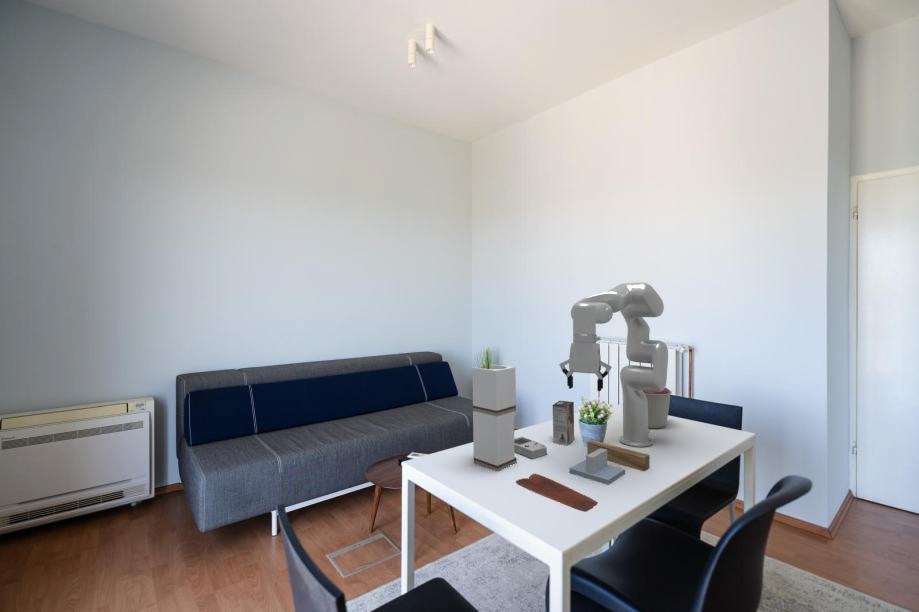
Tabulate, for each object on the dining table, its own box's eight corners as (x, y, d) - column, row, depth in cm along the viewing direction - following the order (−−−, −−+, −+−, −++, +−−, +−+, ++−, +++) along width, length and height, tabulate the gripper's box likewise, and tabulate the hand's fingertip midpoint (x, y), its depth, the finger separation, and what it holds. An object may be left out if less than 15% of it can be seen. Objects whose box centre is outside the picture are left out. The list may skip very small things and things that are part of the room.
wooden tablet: (513, 484, 139) (513, 479, 139) (534, 476, 145) (534, 471, 145) (582, 516, 118) (582, 510, 118) (603, 504, 124) (603, 499, 124)
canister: (654, 433, 187) (654, 385, 187) (621, 423, 203) (620, 379, 203) (680, 427, 196) (680, 381, 196) (646, 418, 212) (646, 375, 212)
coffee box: (559, 437, 185) (559, 400, 184) (574, 439, 181) (574, 401, 181) (552, 443, 177) (552, 404, 177) (568, 445, 173) (567, 406, 173)
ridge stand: (587, 462, 155) (586, 443, 155) (624, 473, 145) (624, 453, 145) (569, 472, 146) (569, 452, 146) (608, 484, 136) (608, 462, 136)
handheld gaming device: (532, 460, 159) (532, 450, 159) (505, 449, 171) (505, 440, 171) (548, 455, 164) (548, 445, 164) (521, 445, 176) (521, 436, 176)
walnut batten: (593, 453, 166) (593, 440, 166) (649, 469, 149) (649, 454, 149) (587, 455, 163) (587, 442, 163) (644, 472, 147) (644, 457, 147)
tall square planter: (516, 463, 156) (515, 367, 155) (497, 471, 148) (496, 370, 148) (492, 455, 164) (491, 364, 163) (473, 463, 156) (472, 367, 156)
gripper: (612, 339, 145) (613, 389, 146) (562, 337, 154) (563, 385, 154) (608, 341, 139) (609, 393, 139) (556, 339, 147) (556, 389, 148)
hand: (585, 389), depth 147 cm, fingers open, 9 cm apart
